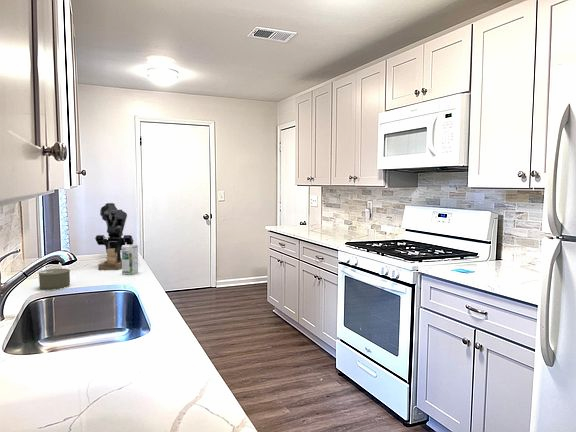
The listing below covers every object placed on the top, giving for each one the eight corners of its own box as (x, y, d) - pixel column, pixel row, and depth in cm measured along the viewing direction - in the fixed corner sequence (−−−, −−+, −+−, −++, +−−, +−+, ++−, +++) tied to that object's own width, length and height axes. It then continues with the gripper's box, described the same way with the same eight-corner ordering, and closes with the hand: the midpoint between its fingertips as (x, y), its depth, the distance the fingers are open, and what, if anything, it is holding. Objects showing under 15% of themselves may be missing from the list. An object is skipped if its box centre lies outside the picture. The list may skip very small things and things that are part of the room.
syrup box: (121, 274, 204) (120, 245, 203) (129, 271, 209) (128, 244, 208) (131, 275, 202) (130, 246, 201) (138, 272, 208) (138, 244, 207)
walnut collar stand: (106, 266, 224) (105, 260, 223) (125, 266, 224) (125, 260, 224) (98, 270, 213) (98, 264, 213) (119, 269, 214) (118, 264, 214)
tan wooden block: (109, 263, 221) (109, 248, 220) (117, 263, 221) (117, 248, 220) (107, 265, 217) (106, 249, 216) (114, 265, 217) (114, 249, 216)
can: (70, 288, 176) (69, 272, 176) (37, 291, 171) (37, 275, 170) (71, 282, 187) (70, 267, 186) (40, 285, 182) (39, 269, 181)
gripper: (96, 220, 220) (88, 243, 210) (131, 220, 222) (125, 243, 211) (101, 233, 229) (94, 256, 219) (135, 233, 230) (130, 255, 220)
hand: (111, 252), depth 217 cm, fingers closed on tan wooden block, 4 cm apart
